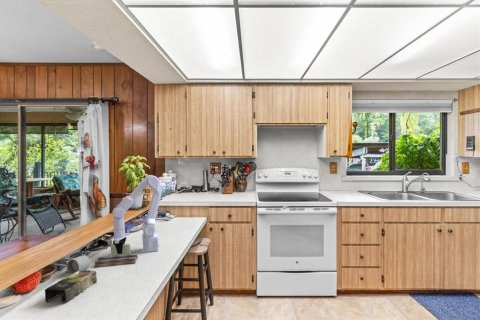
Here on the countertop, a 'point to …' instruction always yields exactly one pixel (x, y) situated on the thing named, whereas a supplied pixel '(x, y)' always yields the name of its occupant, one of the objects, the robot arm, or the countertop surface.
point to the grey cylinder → (78, 264)
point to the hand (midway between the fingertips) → (120, 252)
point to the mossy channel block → (71, 285)
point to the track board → (116, 260)
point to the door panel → (124, 250)
